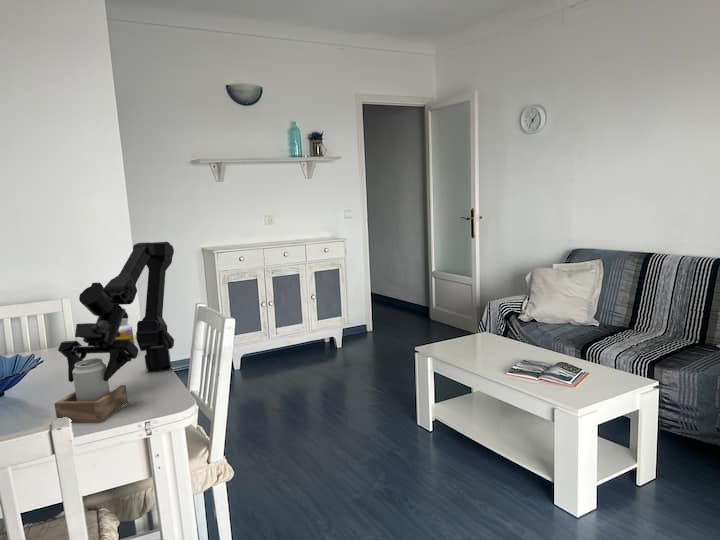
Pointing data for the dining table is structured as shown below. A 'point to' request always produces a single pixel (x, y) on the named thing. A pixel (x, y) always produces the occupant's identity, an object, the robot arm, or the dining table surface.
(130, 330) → the supplement bottle
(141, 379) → the dining table surface
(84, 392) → the can
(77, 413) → the u rest
